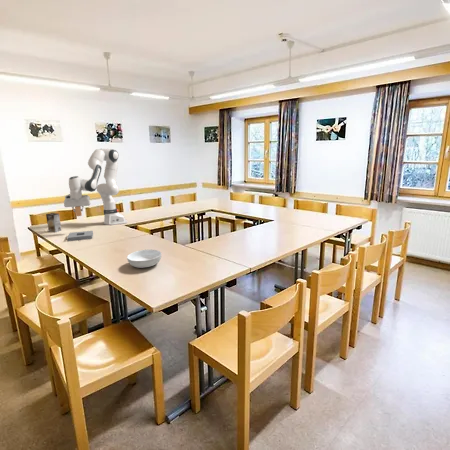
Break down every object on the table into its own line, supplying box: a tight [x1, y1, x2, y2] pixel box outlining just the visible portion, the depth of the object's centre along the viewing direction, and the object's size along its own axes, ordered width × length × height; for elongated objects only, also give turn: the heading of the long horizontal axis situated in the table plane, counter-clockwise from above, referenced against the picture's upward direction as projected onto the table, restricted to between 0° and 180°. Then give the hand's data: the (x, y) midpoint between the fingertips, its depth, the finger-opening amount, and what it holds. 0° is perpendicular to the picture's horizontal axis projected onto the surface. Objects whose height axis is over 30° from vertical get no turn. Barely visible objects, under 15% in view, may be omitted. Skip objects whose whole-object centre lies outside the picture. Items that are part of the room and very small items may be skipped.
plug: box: [74, 206, 83, 217], centre depth 259 cm, size 4×5×8 cm
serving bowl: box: [126, 249, 162, 269], centre depth 187 cm, size 21×21×7 cm
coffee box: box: [45, 212, 62, 233], centre depth 268 cm, size 9×6×16 cm
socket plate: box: [66, 230, 94, 242], centre depth 249 cm, size 18×16×3 cm
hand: (78, 211), depth 259 cm, fingers closed on plug, 4 cm apart
